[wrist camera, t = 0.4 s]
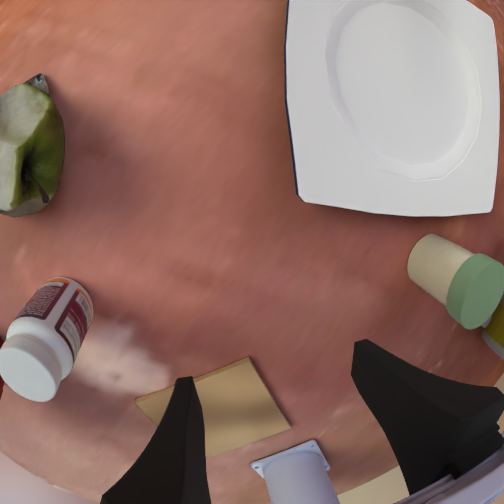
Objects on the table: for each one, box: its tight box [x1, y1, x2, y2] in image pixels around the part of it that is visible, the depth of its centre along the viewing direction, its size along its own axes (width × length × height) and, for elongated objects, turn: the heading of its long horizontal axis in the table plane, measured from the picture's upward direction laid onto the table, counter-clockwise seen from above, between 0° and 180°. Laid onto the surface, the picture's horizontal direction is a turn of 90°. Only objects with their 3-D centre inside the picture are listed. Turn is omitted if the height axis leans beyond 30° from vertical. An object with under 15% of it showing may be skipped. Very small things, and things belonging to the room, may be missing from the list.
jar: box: [407, 234, 475, 308], centre depth 22 cm, size 5×5×7 cm
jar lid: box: [446, 253, 504, 329], centre depth 19 cm, size 6×5×2 cm
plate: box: [284, 0, 500, 216], centre depth 18 cm, size 20×20×3 cm
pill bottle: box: [0, 277, 94, 402], centre depth 16 cm, size 5×5×8 cm
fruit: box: [0, 73, 65, 218], centre depth 13 cm, size 9×9×8 cm
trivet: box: [135, 357, 291, 457], centre depth 26 cm, size 11×11×1 cm
